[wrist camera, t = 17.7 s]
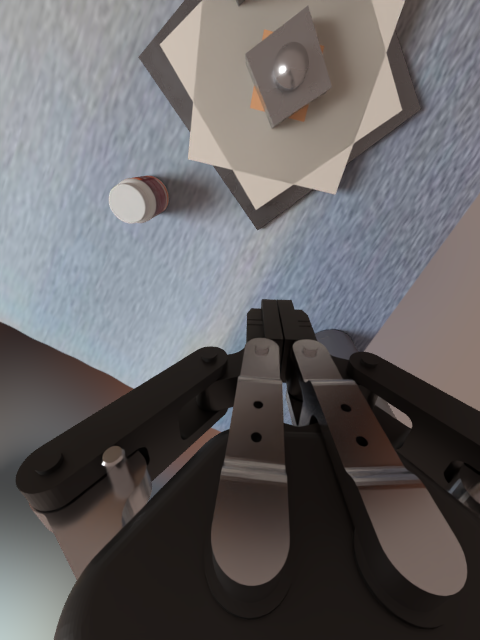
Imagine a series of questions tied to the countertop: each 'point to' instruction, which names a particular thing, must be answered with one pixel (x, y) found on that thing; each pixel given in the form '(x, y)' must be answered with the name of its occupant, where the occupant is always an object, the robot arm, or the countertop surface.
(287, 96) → the cover
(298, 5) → the turntable
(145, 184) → the pill bottle
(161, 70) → the base
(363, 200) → the countertop surface
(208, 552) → the robot arm
